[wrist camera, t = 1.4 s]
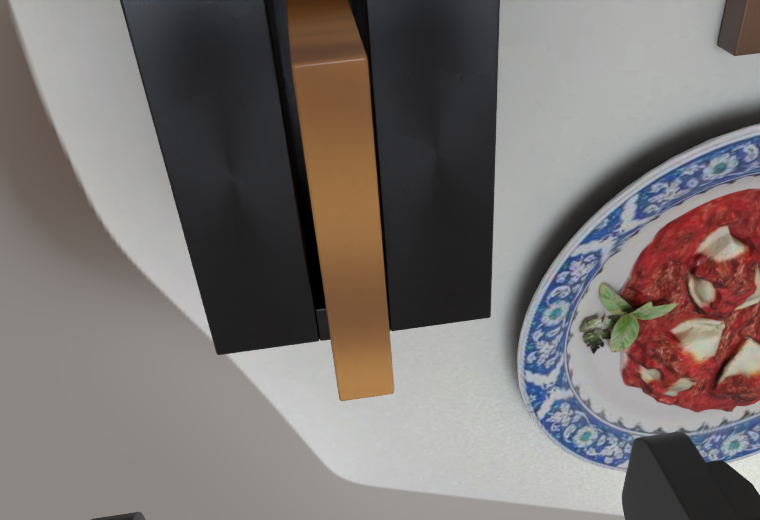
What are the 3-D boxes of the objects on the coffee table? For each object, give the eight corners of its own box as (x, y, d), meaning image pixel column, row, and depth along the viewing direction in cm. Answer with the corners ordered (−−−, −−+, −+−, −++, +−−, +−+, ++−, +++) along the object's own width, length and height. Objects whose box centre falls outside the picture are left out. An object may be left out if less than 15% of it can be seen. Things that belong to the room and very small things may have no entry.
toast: (281, -44, 23) (290, 64, 15) (331, -48, 23) (367, 55, 15) (318, 220, 28) (339, 402, 20) (358, 215, 29) (394, 394, 20)
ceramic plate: (1031, 171, 40) (1080, 197, 37) (754, 469, 53) (778, 503, 50) (656, 31, 32) (688, 53, 30) (440, 420, 45) (450, 457, 43)
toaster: (149, -163, 25) (85, -124, 16) (423, -187, 26) (505, -163, 17) (229, 201, 34) (216, 356, 25) (433, 176, 35) (491, 317, 26)
